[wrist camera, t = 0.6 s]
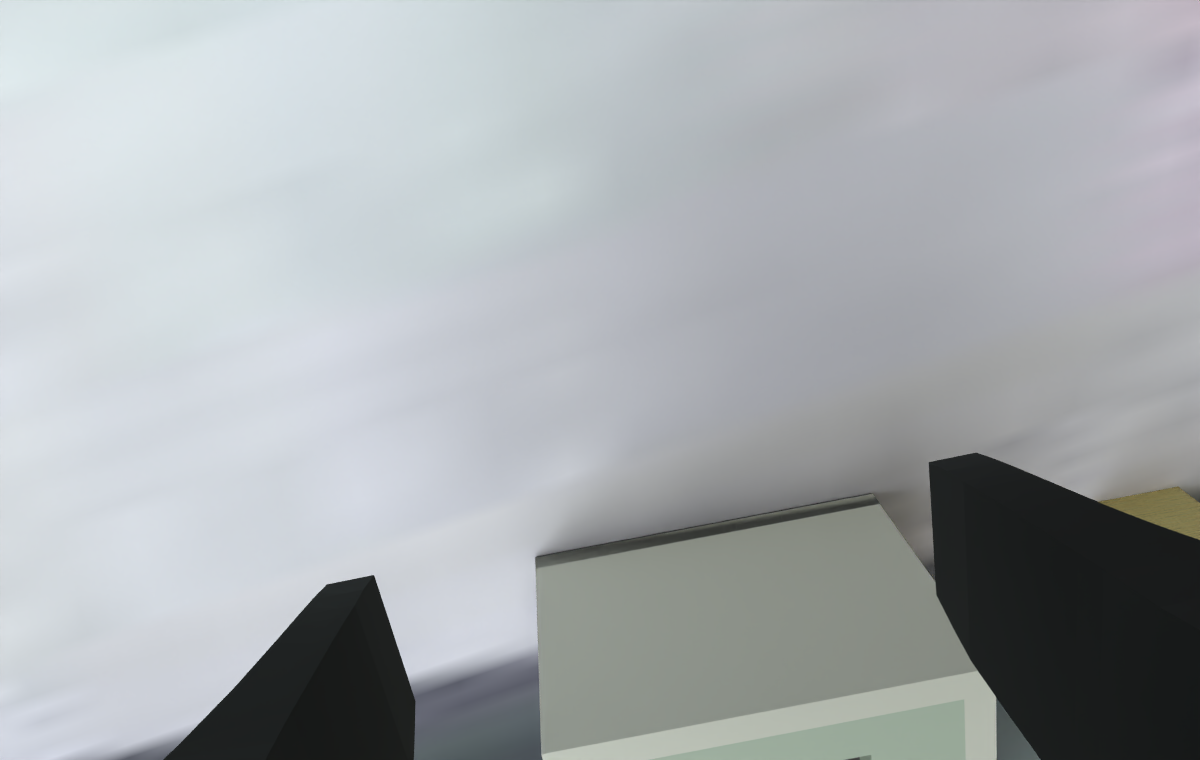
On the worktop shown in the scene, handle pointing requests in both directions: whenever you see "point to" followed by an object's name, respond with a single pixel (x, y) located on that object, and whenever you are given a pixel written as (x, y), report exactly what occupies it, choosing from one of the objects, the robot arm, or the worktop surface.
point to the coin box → (756, 646)
